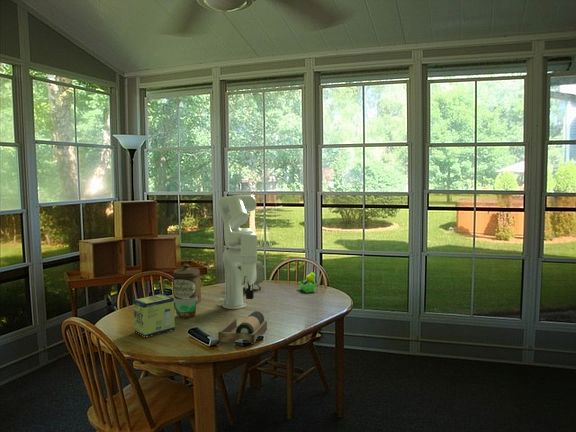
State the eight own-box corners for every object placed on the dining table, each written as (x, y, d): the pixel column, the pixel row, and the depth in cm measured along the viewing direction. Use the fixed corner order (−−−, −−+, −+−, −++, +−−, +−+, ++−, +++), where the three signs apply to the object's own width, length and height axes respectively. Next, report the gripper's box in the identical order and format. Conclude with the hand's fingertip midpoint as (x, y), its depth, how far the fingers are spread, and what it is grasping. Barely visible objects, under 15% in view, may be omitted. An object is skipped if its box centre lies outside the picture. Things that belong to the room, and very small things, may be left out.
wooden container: (169, 305, 265) (168, 265, 263) (181, 298, 279) (180, 261, 277) (194, 306, 261) (193, 266, 259) (205, 299, 276) (204, 261, 274)
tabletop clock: (264, 289, 298) (263, 249, 296) (255, 292, 291) (254, 251, 288) (245, 286, 306) (244, 247, 304) (236, 289, 298) (235, 249, 296)
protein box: (133, 333, 219) (132, 299, 217) (164, 325, 229) (162, 293, 228) (144, 338, 211) (143, 304, 210) (175, 330, 222) (174, 297, 221)
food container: (174, 320, 237) (173, 300, 236) (173, 316, 243) (173, 297, 242) (199, 318, 240) (198, 298, 239) (198, 314, 246) (197, 295, 245)
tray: (218, 341, 206) (218, 332, 205) (234, 327, 225) (234, 318, 225) (254, 344, 202) (253, 335, 202) (266, 329, 221) (266, 320, 221)
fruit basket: (298, 289, 298) (298, 271, 297) (311, 287, 301) (311, 270, 300) (304, 293, 287) (304, 274, 286) (318, 292, 290) (318, 273, 289)
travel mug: (261, 308, 223) (248, 321, 203) (267, 323, 223) (255, 338, 203) (247, 313, 225) (232, 326, 205) (252, 328, 225) (239, 343, 205)
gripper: (246, 256, 228) (247, 294, 230) (235, 262, 214) (236, 302, 216) (261, 257, 227) (262, 295, 228) (251, 262, 212) (252, 303, 214)
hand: (249, 298), depth 222 cm, fingers closed
